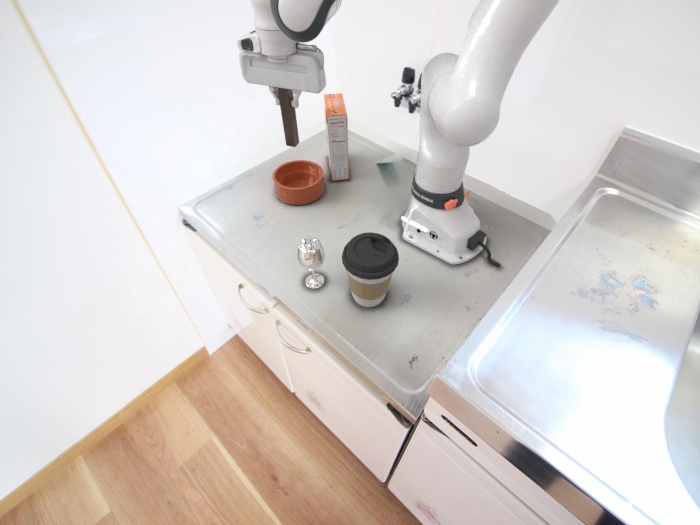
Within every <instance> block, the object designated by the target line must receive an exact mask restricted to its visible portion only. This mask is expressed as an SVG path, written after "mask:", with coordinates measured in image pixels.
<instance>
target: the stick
mask: <svg viewBox="0 0 700 525" xmlns="http://www.w3.org/2000/svg"><path fill="white" fill-rule="evenodd" d="M277 90H278V95H279V102H280V105H279V107H280V114H281V121H282V126H283V133H284V140H285V145H286V146H287V147H291V148H296V147H297V146H298V145H299V144H300V137H299V129H298V122H297V121H298V120H297V112H296V108H292V107H291V106H290V105H291V104H290V100H291V99H292V98H294V96H295V95H294V94H293V92H292V90H291V89H284V88H278V87H277Z"/></svg>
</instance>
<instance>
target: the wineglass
mask: <svg viewBox="0 0 700 525" xmlns="http://www.w3.org/2000/svg"><path fill="white" fill-rule="evenodd" d="M325 257H326V255H325V249H324V247H323V244H322V243H321V240H319V239H318V238H316V237H313V236H310V237H304V238H303V239H301V241H299V243H298V247H297V261H298V263H299V265H300V266H301V267H302V268H303V269H305V270H308V271H311V272H312V273H311V274H309V275H308V276H307V277H306V278H305V281H304V282H305V285H306V286H307V287H308V288H310V289H314V290H315V289H319V288H321V287H322V286H323V285H324V283H325V277H324V276H323V275H322V274H321V273H316V270H318V269H319V268H321V267H322V266H323V265H324V263H325V259H326V258H325Z"/></svg>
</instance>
